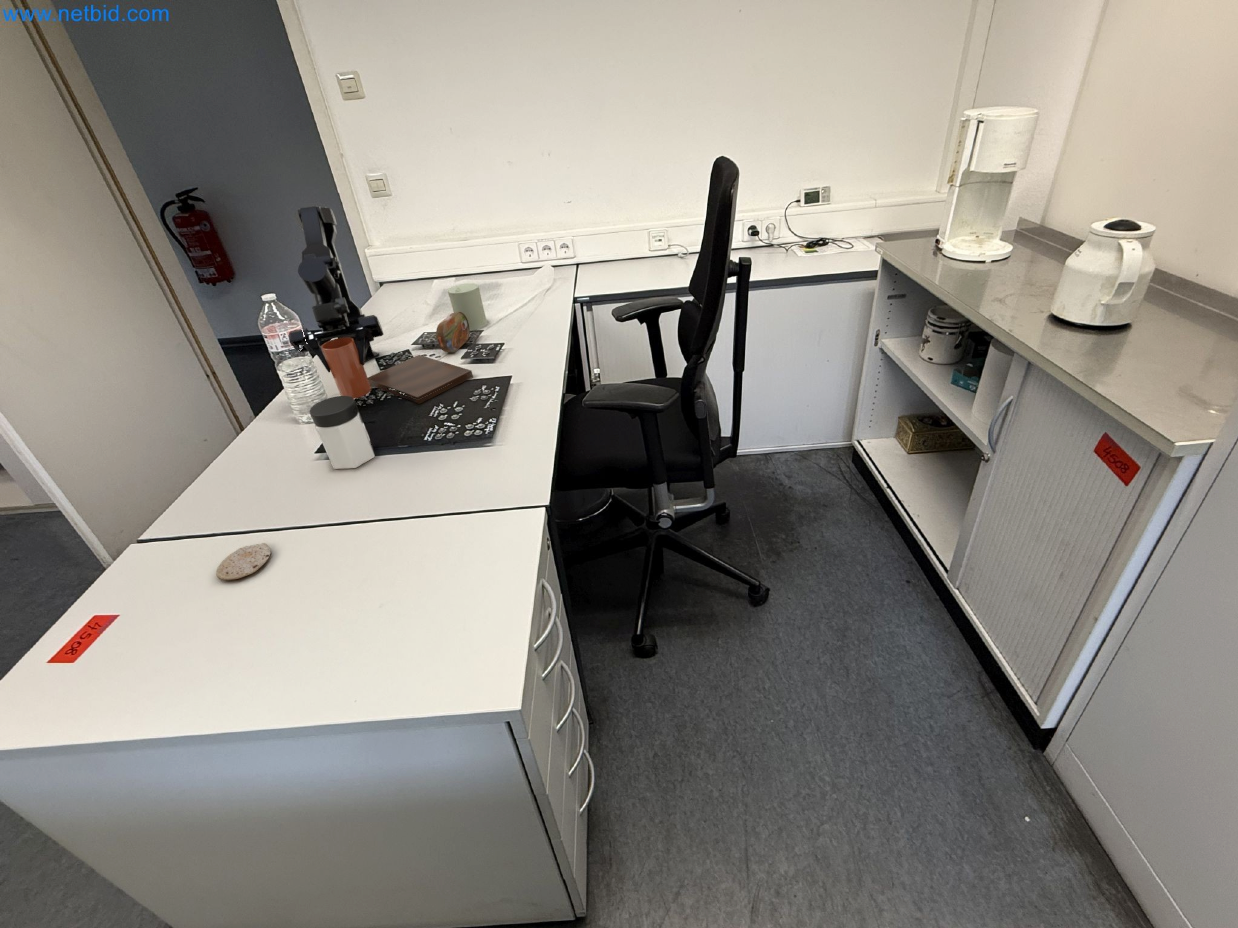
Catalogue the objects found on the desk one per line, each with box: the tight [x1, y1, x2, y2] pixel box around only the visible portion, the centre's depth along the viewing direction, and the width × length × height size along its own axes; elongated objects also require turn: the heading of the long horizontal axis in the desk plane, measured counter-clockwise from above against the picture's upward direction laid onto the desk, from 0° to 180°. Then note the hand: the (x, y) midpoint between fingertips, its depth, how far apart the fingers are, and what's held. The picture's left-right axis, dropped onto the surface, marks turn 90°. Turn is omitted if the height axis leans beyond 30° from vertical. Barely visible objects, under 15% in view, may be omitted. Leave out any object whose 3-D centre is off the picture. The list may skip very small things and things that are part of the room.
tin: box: [435, 312, 471, 353], centre depth 161 cm, size 15×3×8 cm, turn 168°
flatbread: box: [215, 542, 272, 581], centre depth 92 cm, size 8×8×1 cm
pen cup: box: [321, 337, 372, 400], centre depth 130 cm, size 7×7×12 cm
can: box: [447, 282, 488, 332], centre depth 173 cm, size 9×9×12 cm
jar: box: [309, 395, 376, 470], centre depth 113 cm, size 9×8×12 cm
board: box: [367, 354, 474, 405], centre depth 145 cm, size 22×16×2 cm
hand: (345, 368), depth 129 cm, fingers closed on pen cup, 7 cm apart
